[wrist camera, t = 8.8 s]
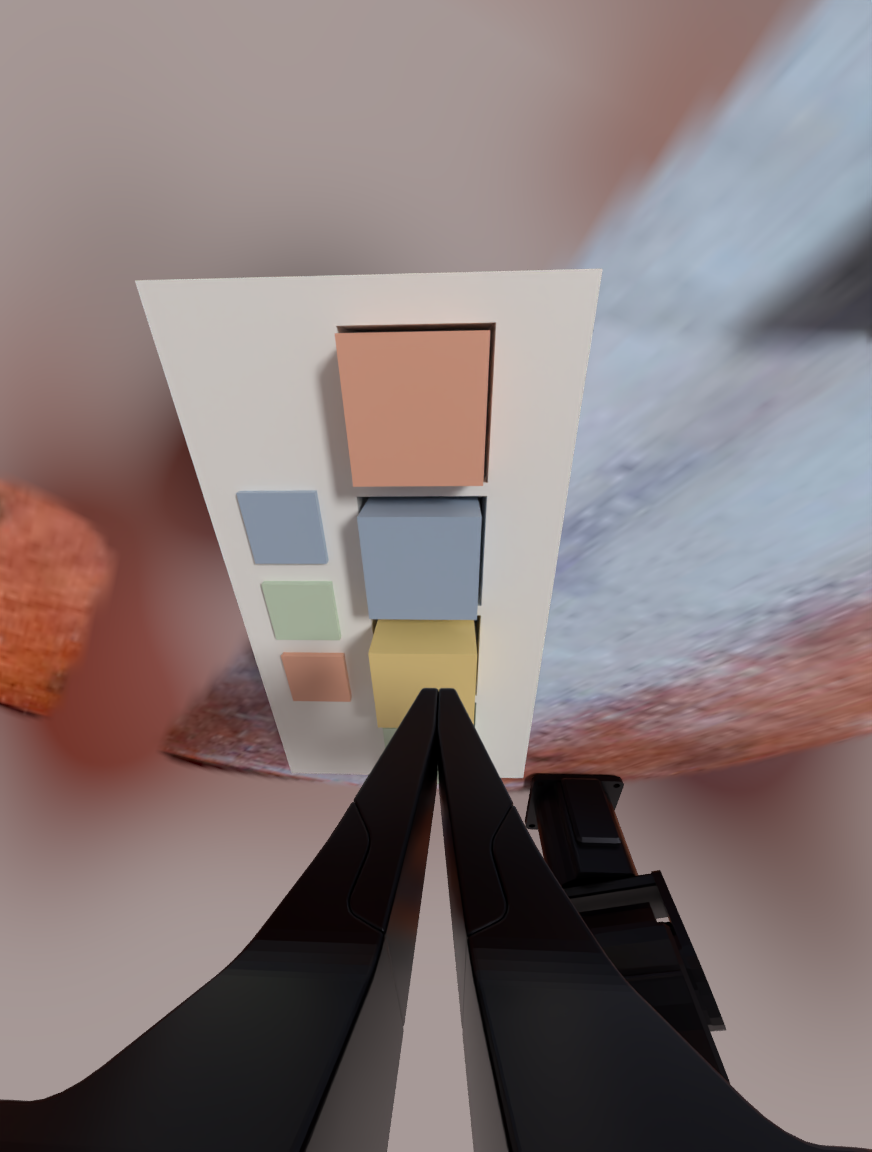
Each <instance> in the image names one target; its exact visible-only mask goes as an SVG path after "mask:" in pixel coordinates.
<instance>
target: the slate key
mask: <svg viewBox="0 0 872 1152" xmlns="http://www.w3.org/2000/svg"><path fill="white" fill-rule="evenodd" d="M357 522H358V530H359V538H360V546H361V555H362V563H363V571H364V579H365V588H366V596H367V604H368V612H369V619H411V620H477V608H478V587H479V565H480V543H481V522H482V516H481V511H480V506H479V502H478V497H477V496H377V497H369V499H368V500H367V502H366V503H365V505H364V507H363V508H362V510H361V512H360V513H359V515H358V516H357Z"/></svg>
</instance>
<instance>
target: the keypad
mask: <svg viewBox="0 0 872 1152" xmlns="http://www.w3.org/2000/svg"><path fill="white" fill-rule="evenodd" d="M601 276H602V269H571V270H532V271H494V272H493V271H492V272H454V273H416V274H379V275H378V274H377V275H376V274H374V275H336V276H299V277H298V276H297V277H296V276H295V277H261V278H260V277H257V278H217V279H178V280H177V279H176V280H138V281H135V283H136V286H137V289H138V292H139V295H140V298H141V302H142V305H143V308H144V311H145V314H146V317H147V320H148V323H149V327H150V329H151V333H152V336H153V339H154V342H155V345H156V349H157V352H158V355H159V358H160V361H161V364H162V367H163V371H164V374H165V376H166V380H167V383H168V386H169V389H170V392H171V396H172V399H173V402H174V405H175V408H176V411H177V415H178V418H179V420H180V424H181V427H182V430H183V433H184V436H185V440H186V443H187V446H188V449H189V452H190V455H191V458H192V462H193V465H194V468H195V471H196V474H197V477H198V480H199V483H200V486H201V490H202V493H203V496H204V499H205V502H206V506H207V509H208V512H209V515H210V518H211V521H212V524H213V527H214V531H215V534H216V537H217V540H218V543H219V546H220V549H221V552H222V556H223V559H224V562H225V565H226V568H227V571H228V575H229V577H230V581H231V584H232V587H233V590H234V593H235V596H236V600H237V603H238V606H239V609H240V612H241V615H242V618H243V622H244V625H245V628H246V631H247V634H248V637H249V640H250V644H251V647H252V650H253V653H254V656H255V659H256V662H257V666H258V669H259V672H260V675H261V678H262V681H263V684H264V688H265V691H266V694H267V697H268V700H269V703H270V706H271V709H272V713H273V716H274V719H275V722H276V725H277V728H278V731H279V735H280V738H281V741H282V744H283V747H284V750H285V753H286V757H287V760H288V763H289V766H290V769H291V772H292V773H313V774H359V775H369V774H370V772H371V771H372V769H373V767H374V766H375V764H376V762H377V761H378V759H379V757H380V756H381V754H382V753H383V751H384V749H385V743H384V735H383V728H378V725H377V717H376V709H375V702H374V694H373V686H372V679H371V671H370V663H369V656H368V653H369V649H370V645H371V642H372V638H373V635H374V631H375V628H376V624H377V621H378V619H369V612H368V604H367V596H366V588H365V579H364V571H363V563H362V555H361V546H360V538H359V530H358V522H357V516H358V515H359V513H360V512H361V510H362V508H363V507H364V505H365V503H366V502H367V500H368V499H369V497H377V496H477V497H478V502H479V506H480V511H481V516H482V522H481V543H480V565H479V587H478V608H477V620H474V626H475V636H476V647H477V669H476V689H475V710H474V727H475V729H476V731H477V733H478V735H479V737H480V739H481V741H482V742H483V744H484V746H485V748H486V750H487V752H488V754H489V756H490V758H491V760H492V762H493V764H494V766H495V768H496V770H497V772H498V774H499V776H500V778H523V775H524V768H525V762H526V756H527V749H528V743H529V736H530V730H531V724H532V717H533V711H534V704H535V698H536V692H537V685H538V679H539V672H540V666H541V660H542V653H543V647H544V640H545V634H546V628H547V621H548V615H549V608H550V602H551V596H552V589H553V583H554V576H555V570H556V564H557V557H558V551H559V544H560V538H561V532H562V525H563V519H564V512H565V506H566V500H567V493H568V487H569V480H570V474H571V468H572V461H573V455H574V448H575V442H576V436H577V429H578V423H579V416H580V410H581V404H582V397H583V391H584V385H585V378H586V372H587V365H588V359H589V353H590V346H591V340H592V333H593V327H594V321H595V314H596V308H597V301H598V295H599V289H600V282H601ZM475 330H490V348H489V370H488V392H487V414H486V435H485V457H484V479H483V486H385V487H353V481H352V473H351V465H350V456H349V448H348V440H347V432H346V424H345V415H344V407H343V399H342V391H341V382H340V374H339V366H338V358H337V349H336V341H335V333H374V332H425V331H475Z"/></svg>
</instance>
